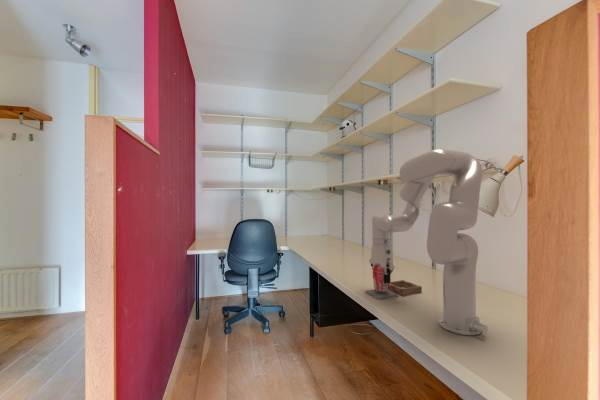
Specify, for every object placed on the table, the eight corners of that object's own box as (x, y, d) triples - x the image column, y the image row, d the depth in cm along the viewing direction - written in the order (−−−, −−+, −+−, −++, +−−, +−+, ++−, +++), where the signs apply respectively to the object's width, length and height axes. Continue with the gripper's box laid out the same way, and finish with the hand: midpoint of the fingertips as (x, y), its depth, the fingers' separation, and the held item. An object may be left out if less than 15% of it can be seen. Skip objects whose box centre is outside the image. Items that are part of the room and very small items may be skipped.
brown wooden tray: (421, 292, 125) (421, 286, 125) (402, 296, 120) (402, 289, 120) (403, 285, 135) (403, 280, 135) (385, 288, 131) (385, 282, 131)
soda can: (380, 286, 127) (379, 261, 128) (393, 290, 122) (392, 263, 122) (370, 289, 123) (369, 263, 123) (383, 293, 117) (382, 266, 118)
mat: (397, 296, 120) (397, 294, 120) (379, 299, 116) (379, 297, 116) (382, 290, 129) (382, 287, 129) (365, 292, 125) (365, 290, 125)
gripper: (401, 243, 116) (401, 284, 116) (375, 239, 132) (375, 275, 132) (387, 245, 113) (388, 287, 113) (362, 240, 129) (363, 277, 129)
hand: (381, 280), depth 122 cm, fingers closed on soda can, 7 cm apart
